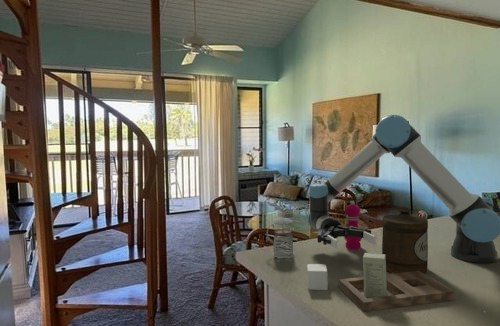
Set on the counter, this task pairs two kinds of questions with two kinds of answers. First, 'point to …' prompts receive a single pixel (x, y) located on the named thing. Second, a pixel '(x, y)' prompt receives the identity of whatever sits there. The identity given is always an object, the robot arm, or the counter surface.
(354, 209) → the pepper mill
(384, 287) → the skincare box
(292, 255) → the french press
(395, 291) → the walnut plate
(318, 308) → the counter surface
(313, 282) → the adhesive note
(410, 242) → the wooden container
